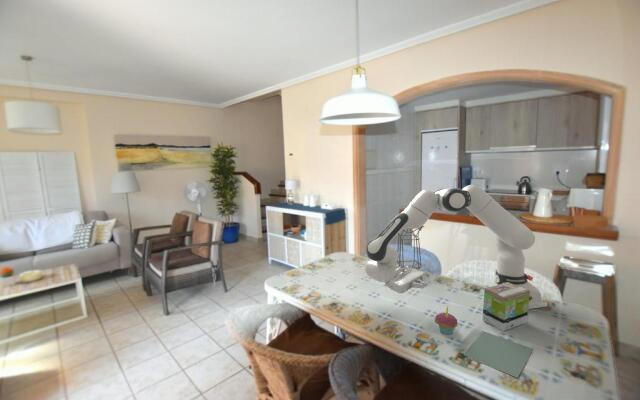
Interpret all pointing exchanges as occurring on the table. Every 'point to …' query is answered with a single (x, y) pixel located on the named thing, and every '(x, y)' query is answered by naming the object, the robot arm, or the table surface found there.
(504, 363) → the mat
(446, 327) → the cupcake
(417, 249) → the geometric lantern
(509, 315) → the tea box
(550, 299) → the table surface
